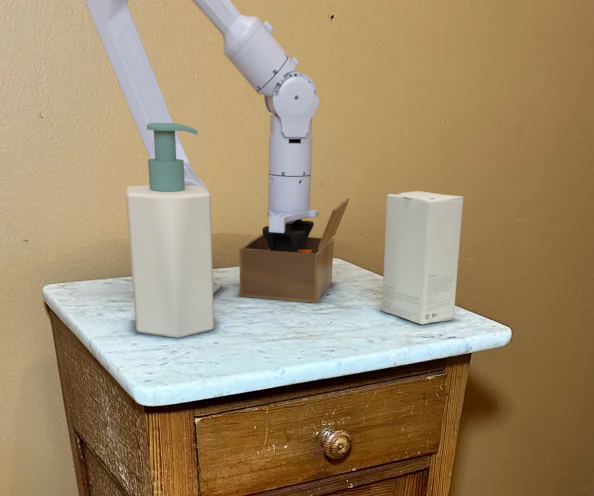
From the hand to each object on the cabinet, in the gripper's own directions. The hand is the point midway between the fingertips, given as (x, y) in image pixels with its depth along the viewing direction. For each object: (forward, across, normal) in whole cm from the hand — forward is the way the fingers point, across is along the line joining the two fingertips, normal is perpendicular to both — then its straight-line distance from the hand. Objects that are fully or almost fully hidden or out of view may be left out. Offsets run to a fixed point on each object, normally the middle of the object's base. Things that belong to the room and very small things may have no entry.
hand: (287, 277), depth 110 cm
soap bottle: (+2, -22, +9) cm, 24 cm away
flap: (-8, 0, -6) cm, 10 cm away
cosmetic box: (+2, -8, -19) cm, 21 cm away
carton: (+2, 0, 0) cm, 2 cm away
